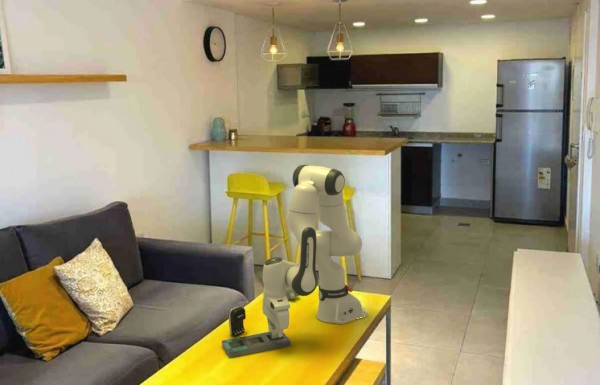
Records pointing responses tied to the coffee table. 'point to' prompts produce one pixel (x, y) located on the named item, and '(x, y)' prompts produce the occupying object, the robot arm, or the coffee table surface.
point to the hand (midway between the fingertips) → (275, 331)
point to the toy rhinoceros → (291, 293)
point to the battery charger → (237, 321)
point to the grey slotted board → (254, 348)
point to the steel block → (273, 331)
